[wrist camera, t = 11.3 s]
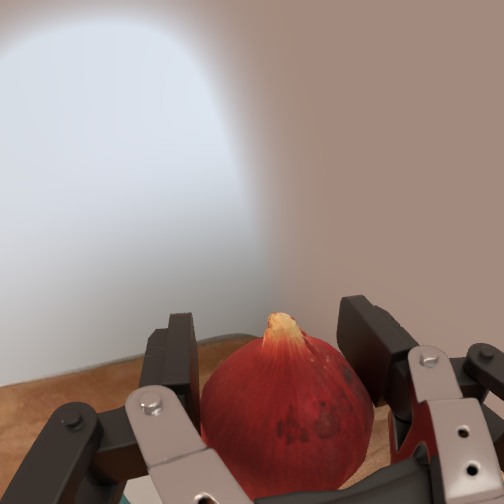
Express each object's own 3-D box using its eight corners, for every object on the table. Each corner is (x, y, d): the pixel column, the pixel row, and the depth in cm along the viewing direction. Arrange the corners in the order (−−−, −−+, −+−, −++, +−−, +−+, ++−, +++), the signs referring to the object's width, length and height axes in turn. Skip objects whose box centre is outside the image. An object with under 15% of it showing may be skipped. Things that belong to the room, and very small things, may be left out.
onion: (361, 441, 12) (403, 286, 9) (327, 549, 7) (399, 426, 4) (244, 413, 14) (237, 263, 12) (183, 502, 9) (125, 351, 7)
